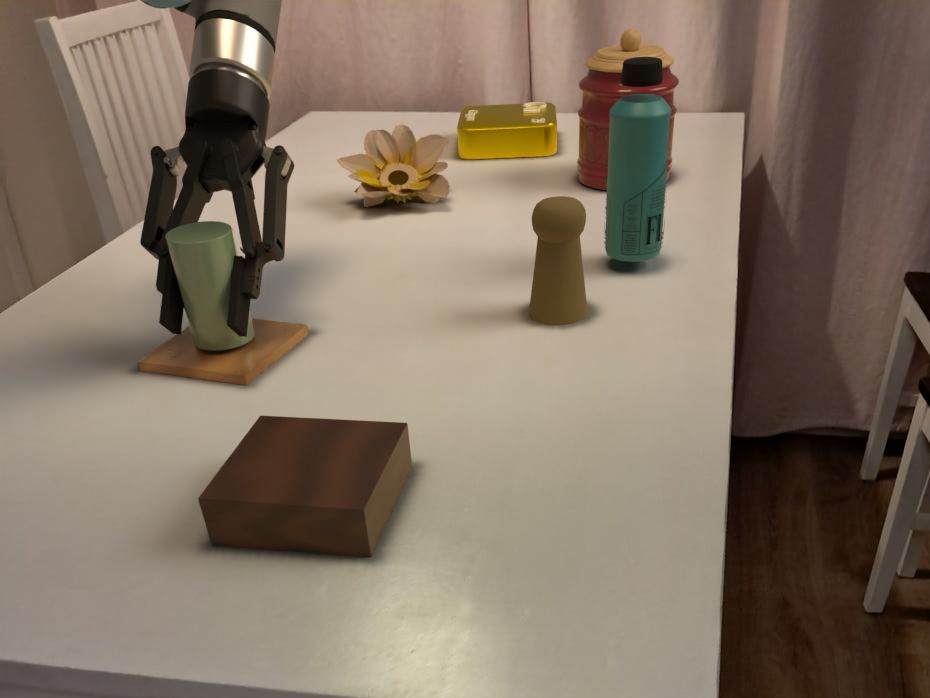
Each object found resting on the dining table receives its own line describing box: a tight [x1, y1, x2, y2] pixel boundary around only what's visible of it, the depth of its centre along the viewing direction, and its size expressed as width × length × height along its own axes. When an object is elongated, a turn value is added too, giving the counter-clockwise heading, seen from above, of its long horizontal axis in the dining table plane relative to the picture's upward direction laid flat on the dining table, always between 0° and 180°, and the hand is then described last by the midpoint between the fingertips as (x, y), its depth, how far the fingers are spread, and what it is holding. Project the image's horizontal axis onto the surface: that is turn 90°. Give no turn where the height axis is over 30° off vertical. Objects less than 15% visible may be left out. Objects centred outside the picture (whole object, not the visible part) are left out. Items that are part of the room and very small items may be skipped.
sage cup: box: [165, 220, 255, 351], centre depth 87 cm, size 6×6×10 cm
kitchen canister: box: [576, 28, 680, 191], centre depth 122 cm, size 13×13×18 cm
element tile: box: [456, 101, 558, 161], centre depth 143 cm, size 15×15×5 cm
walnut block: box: [197, 415, 413, 558], centre depth 68 cm, size 12×12×4 cm
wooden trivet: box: [137, 317, 310, 386], centre depth 91 cm, size 12×12×1 cm
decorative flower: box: [336, 123, 450, 208], centre depth 121 cm, size 15×11×10 cm
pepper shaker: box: [528, 195, 588, 326], centre depth 91 cm, size 6×6×11 cm
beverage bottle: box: [603, 57, 671, 262], centre depth 97 cm, size 6×7×20 cm
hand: (203, 329), depth 86 cm, fingers closed on sage cup, 6 cm apart
